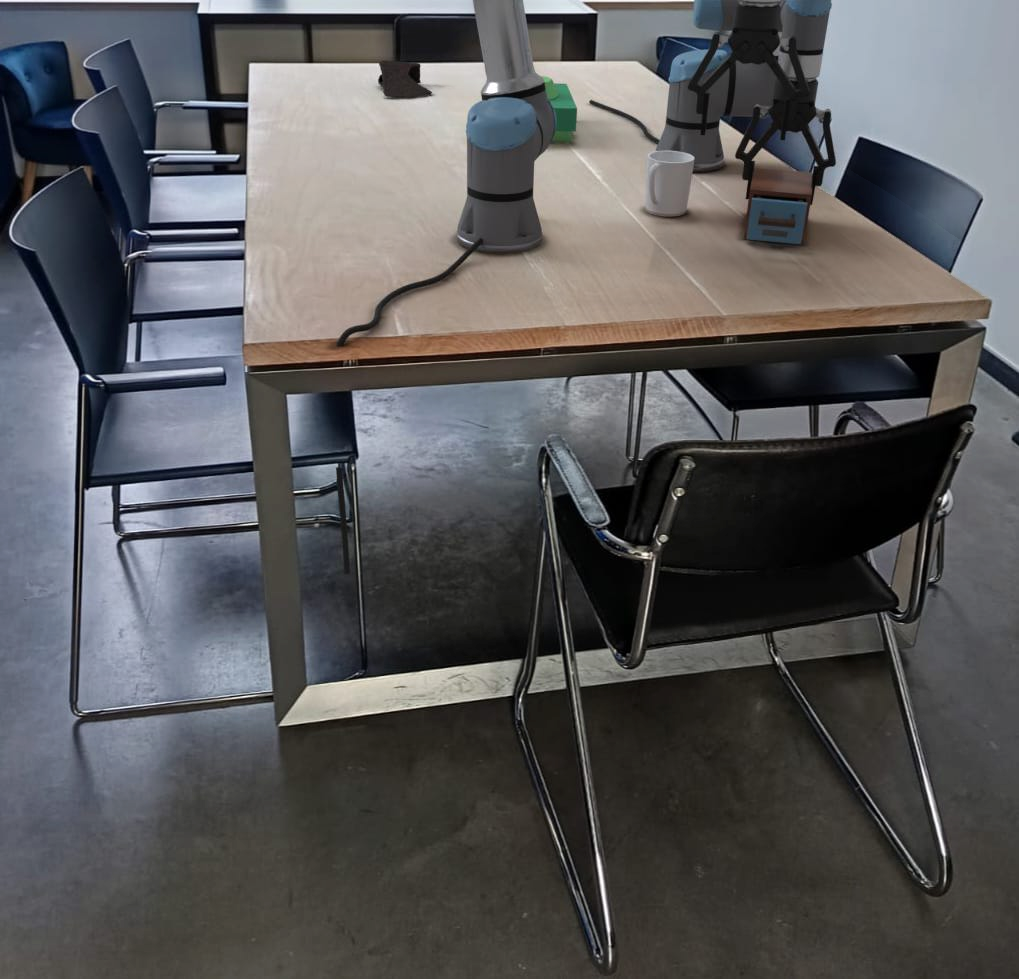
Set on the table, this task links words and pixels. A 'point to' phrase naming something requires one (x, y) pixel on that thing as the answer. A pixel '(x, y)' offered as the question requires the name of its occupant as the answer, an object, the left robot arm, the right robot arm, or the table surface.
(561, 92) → the toy tank
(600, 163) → the table surface
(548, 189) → the table surface
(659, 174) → the mug
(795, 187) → the cabinet
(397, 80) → the axe head
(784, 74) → the left robot arm
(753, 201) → the drawer
